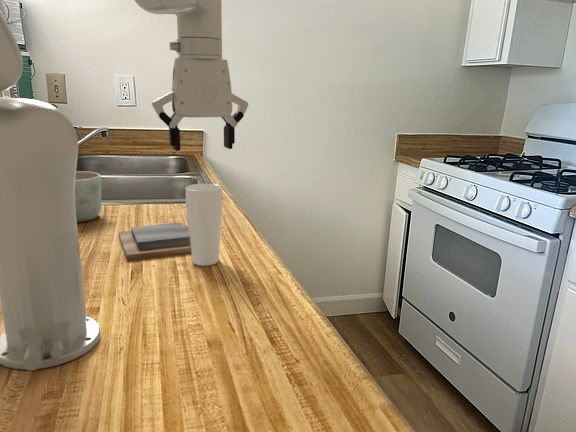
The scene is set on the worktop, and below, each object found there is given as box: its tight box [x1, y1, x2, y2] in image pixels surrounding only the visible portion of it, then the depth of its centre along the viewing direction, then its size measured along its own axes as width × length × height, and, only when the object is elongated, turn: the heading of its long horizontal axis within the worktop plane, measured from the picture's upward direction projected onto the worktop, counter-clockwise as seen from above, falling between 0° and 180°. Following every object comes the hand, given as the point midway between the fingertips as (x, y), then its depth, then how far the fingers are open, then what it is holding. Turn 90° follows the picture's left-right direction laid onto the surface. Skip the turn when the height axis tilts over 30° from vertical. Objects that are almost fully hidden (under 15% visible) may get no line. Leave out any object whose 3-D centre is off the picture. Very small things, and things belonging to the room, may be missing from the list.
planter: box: [75, 170, 102, 223], centre depth 119 cm, size 12×12×11 cm
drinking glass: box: [185, 183, 223, 267], centre depth 92 cm, size 7×7×15 cm
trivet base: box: [117, 222, 191, 262], centre depth 103 cm, size 16×16×3 cm
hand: (202, 148), depth 88 cm, fingers open, 9 cm apart
